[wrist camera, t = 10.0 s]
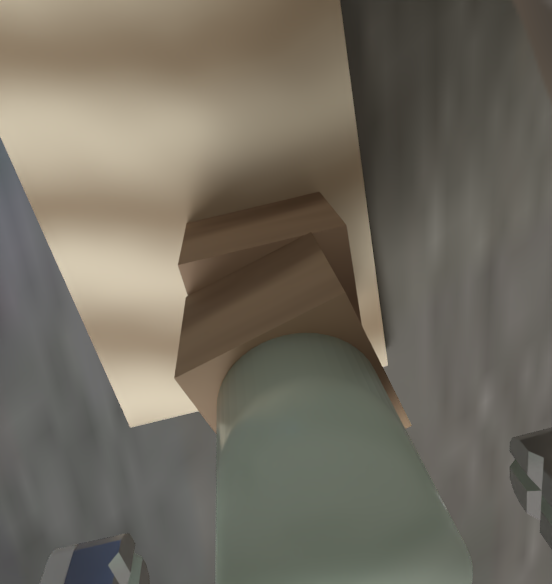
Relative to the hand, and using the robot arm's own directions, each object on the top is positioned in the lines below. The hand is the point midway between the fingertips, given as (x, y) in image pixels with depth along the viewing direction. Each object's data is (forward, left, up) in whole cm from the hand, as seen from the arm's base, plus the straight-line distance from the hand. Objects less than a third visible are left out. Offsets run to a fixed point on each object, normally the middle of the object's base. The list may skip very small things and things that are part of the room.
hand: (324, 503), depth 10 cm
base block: (0, 0, -14) cm, 14 cm away
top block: (0, 0, -9) cm, 9 cm away
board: (-4, -2, -15) cm, 15 cm away
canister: (0, 0, -4) cm, 4 cm away
